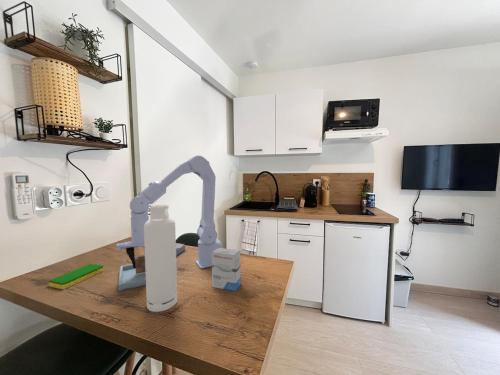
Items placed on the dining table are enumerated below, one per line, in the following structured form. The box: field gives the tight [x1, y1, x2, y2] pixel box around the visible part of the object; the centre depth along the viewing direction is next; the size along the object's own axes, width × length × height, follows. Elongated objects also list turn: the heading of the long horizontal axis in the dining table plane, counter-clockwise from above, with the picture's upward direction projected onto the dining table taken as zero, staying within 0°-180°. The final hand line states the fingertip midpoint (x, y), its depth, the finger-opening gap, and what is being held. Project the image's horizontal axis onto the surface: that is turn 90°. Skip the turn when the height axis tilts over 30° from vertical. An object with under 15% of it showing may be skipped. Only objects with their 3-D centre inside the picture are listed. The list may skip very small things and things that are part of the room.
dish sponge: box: [48, 263, 105, 290], centre depth 75 cm, size 7×14×2 cm, turn 163°
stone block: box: [176, 242, 186, 257], centre depth 97 cm, size 12×5×10 cm
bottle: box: [144, 204, 178, 313], centre depth 59 cm, size 8×8×28 cm
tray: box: [117, 263, 146, 292], centre depth 76 cm, size 14×16×2 cm
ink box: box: [211, 247, 242, 292], centre depth 68 cm, size 8×5×12 cm, turn 71°
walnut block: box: [135, 254, 146, 274], centre depth 76 cm, size 4×4×5 cm
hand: (141, 266), depth 76 cm, fingers closed on walnut block, 4 cm apart
